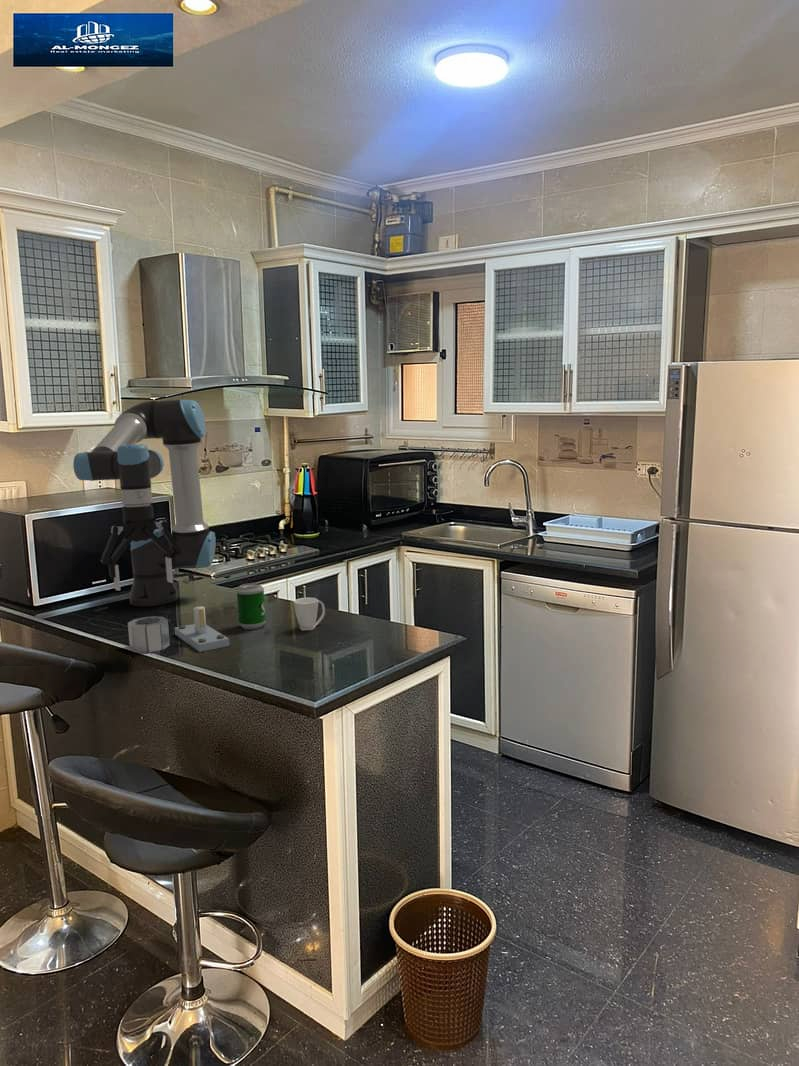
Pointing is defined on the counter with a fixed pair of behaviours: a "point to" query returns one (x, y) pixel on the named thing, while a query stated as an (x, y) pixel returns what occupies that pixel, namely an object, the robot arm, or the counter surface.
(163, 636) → the grey hollow octagonal piece
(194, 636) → the block
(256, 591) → the soda can
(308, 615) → the cup
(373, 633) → the counter surface
